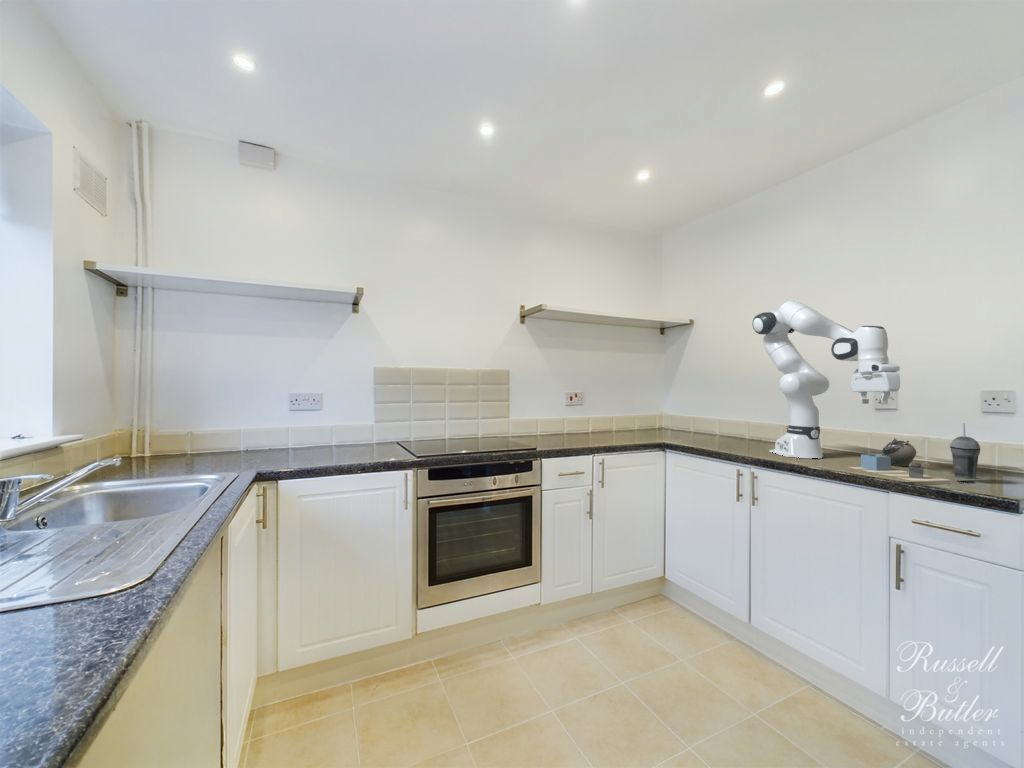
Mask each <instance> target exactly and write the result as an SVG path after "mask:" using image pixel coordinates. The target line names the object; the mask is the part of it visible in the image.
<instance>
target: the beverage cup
mask: <svg viewBox="0 0 1024 768" xmlns="http://www.w3.org/2000/svg"><path fill="white" fill-rule="evenodd" d="M962 435H963V436H957V437H956V438H953V440H952V441H951V442H950V446H949V448H950V452H951V457H952V467H953V473H954V477H955V478H959V479H965V480H958V481H959V483H964V482H965V483H966V484H975V483H976V480H975V479H976V477H977V471H978V470H977V468H978V462H979V456H980V454H981V446H980V444H979V442H978V441H977V440H976V439H974V438H972V437H971V436H966V423H962ZM966 479H968V480H966Z"/></svg>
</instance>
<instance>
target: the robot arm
mask: <svg viewBox="0 0 1024 768" xmlns="http://www.w3.org/2000/svg"><path fill="white" fill-rule="evenodd" d="M752 328H753V330H754V332H755V333H757V334H758V335H764V336H763V338H762V344H763V346H764V349H765V351H766V353H767V354H768V356H769V358H770V359H771V361H772V362H773V364H774V365H775V367H776V368H777V370H778V371H779V372H781V373H783V374H784V375H782V376H781V377H780V379H779V381H778V386H779V390H780V391H781V392H782V393H783V395H784V396H785V398H786V400H787V404H788V408H789V409H788V410H789V425H787V426H784V427H785V430H786V432H785V434H783V435H782V436H781V437H779V438H777V439H776V441H775V444H774V445H775V446H774V449H769V453H772V452H773V454H775V453H776V454H775V455H779V456H782V455H783V456H782V457H787V458H798V457H799V458H800V459H812V458H818V459H823V458H824V454H823V453H822V452H823V450H822V445H821V439H820V435H821V426H820V425H819V424H820V419H819V417H820V416H819V415H820V411H819V408H818V407H817V406H816V405H815V402H814V399H813V397H814V396H815V397H816V396H820V395H822V394H824V393H826V392H827V391H828V390H829V388H830V381H829V378H828V377H826V375H824V374H822V373H820V372H819V371H818V370H817V369H815V368H814V367H813V366H812V365H811V364H810V363H809V362H808V361H806V360H805V358H804V357H803V356H802V355H801V354H800V352H799V351H798V350H797V348H796V346H794V343H792V341H791V340H790V338H789V334H793V333H794V332H797V333H800V334H802V335H805V336H810V337H811V336H813V337H822V338H827V339H831V340H833V343H832V345H831V347H830V348H831V355H832V356H833V357H834V359H836V360H838V361H843V362H844V361H845V362H857V369H855V370H854V372H853V374H852V375H851V382H850V383H851V385H850V390H851V392H852V393H858V395H859V397H860V401H861V404H862V405H863V404H864V405H865V404H866V405H867V404H869V403H870V402H869V401H870V399H869V398H868V397H867V395H868V393H878V392H879V393H880V395H881V398H880V399H879V401H878V402H879V405H888V404H889V403H888V401H889V399H890V396H891V393H893V392H898V391H899V390H900V387H901V379H900V378H901V377H900V372H899V371H900V369H901V366H900V365H899V364H895V363H892V362H891V361H889V355H888V350H889V340H888V333H887V330H886V328H885V327H883V326H879V325H862V326H859V327H858V328H857V329H856V330H855V331H853V330H851V329H849V328H847V327H845V326H843V325H841V324H839V323H837V322H835V321H834V320H832V319H830V318H829V317H827V316H825V315H823V314H821V313H820V312H818V311H817V310H815V309H814V308H812V307H810V306H808V305H807V304H804V303H802V302H799V301H795V300H788V301H786V302H784V303H782V304H781V305H780V307H779V308H776V309H773V310H770V311H769V310H768V311H766V312H760V313H758V314H757V315H755V316H754V318H753V320H752ZM822 457H823V458H822ZM799 458H798V459H799Z"/></svg>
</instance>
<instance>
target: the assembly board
mask: <svg viewBox="0 0 1024 768" xmlns="http://www.w3.org/2000/svg"><path fill="white" fill-rule="evenodd" d="M875 457H876V456H875ZM848 468H850V469H855V470H859V471H864V472H868V473H869V472H870V473H873V474H879V475H883V476H888V477H893V478H898V479H901V480H902V479H903V480H907V481H908V482H907V481H904V482H900V483H902V484H906V485H910V486H916V487H917V486H941V485H942V486H944V484H949V485H951V480H949V479H946V478H942V477H936V476H932V475H926V474H924V467H923V466H922V464H921V463H919V462H918V463H917V462H911V463H910V465H909V466H908V471H906V470H900V469H895V468H891V470H890V471H875V470H870V469H865V468H861V466H848Z"/></svg>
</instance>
